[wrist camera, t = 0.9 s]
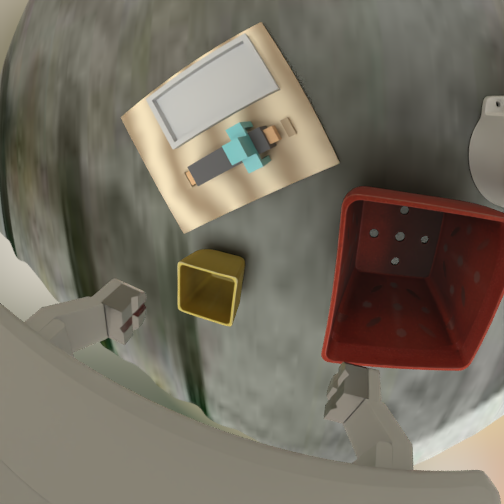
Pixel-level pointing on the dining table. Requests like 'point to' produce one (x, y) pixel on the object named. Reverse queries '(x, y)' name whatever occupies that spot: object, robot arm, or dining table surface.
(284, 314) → the dining table surface
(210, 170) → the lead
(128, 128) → the board
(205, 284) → the flower pot
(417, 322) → the plant pot
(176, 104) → the tray
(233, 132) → the teal stepped block
